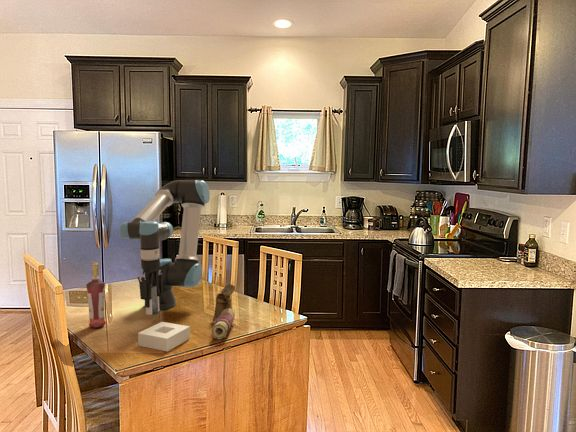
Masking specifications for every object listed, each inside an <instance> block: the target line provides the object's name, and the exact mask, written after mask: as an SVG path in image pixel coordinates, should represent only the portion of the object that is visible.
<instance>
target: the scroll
mask: <svg viewBox="0 0 576 432" xmlns="http://www.w3.org/2000/svg"><path fill="white" fill-rule="evenodd" d="M235 317H236V315H235V311H234V310H233V308H232V309H230V308H229V309H228V308H227V309H224V310H223V311H222V313H221V315H220V316H219V317H218V318H217V319H215V320H214V321H213V323H214V325H213V326H212V328H211V334H212V336H213V338H215V339H217V340H223V338H226V337H227V334H228V333H229V332H230V328H231V326H232V324H233V323H234V321H235Z"/></svg>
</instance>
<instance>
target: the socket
mask: <svg viewBox="0 0 576 432" xmlns="http://www.w3.org/2000/svg"><path fill="white" fill-rule="evenodd" d="M190 339H191V327H190V326H189V325H183V324H177V323H171V322H165V321H160V322H158V323H157V324H153V325H151V326H150V327H147V328H146V329H144V330H142V331H139V332H138V333H137V341H138V343H137V344H138V345H137V346H139V347H143V348H149V349H154V350H159V351H163V352H169V351H171V350H173V349H174V348H177V347H178V346H180V345H181V344H183V343H185V342H186V341H188V340H190Z"/></svg>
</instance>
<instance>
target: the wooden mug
mask: <svg viewBox="0 0 576 432" xmlns="http://www.w3.org/2000/svg"><path fill="white" fill-rule="evenodd" d="M235 289H236V286H235V285H233V284H228V285H226V286H224V287H223V288H222V289H221V292H219V293H217V294H216V297H215V305H214V306H215V308H214V313H213V314H214V315H213V317H212V318H213V320H214V321H215V319H217V318H218V317H219V316H220V315H221V313H222V311H223V310H224V309H227V308H228V309H229V308H230V309H232V310H233V308H232V297H231V295H232V294H233V293H234V292H235Z"/></svg>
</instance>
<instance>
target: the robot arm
mask: <svg viewBox="0 0 576 432" xmlns="http://www.w3.org/2000/svg"><path fill="white" fill-rule="evenodd" d="M210 197H211V195H210V189H209V185H208V184H207V182H206V181H204V180H199V179H194V180H193V179H190V180H189V179H186V180H185V179H184V180H181V179H177V180H176V179H175V180H172V181H170V182H168V183H166V184H165V185H163V186H161V187H160V188H159V189H158V190H157V191H156V192H155V197H153V198H152V200H150V201H149V202H148V203H147V204H146V205H145V207H144V208H143V209H142V210H141V211H140V212H139V213H138V214H137V215H136V216H134V218H133V219H132V220H131V221H125V222H122V223H121V224H120V226H119V234H120V237H121V238H122V239H125V240H139V242H140V243H139V244H140V258H141V260H140V265H141V269H142V275H141V276H138V277H137V280H138V284H139V295H140V296H139V297H140V300H143V301H144V308H145V314H146V315H148V316H153V315H152V299H150V295H151V285H156V286H157V306H158V313H159V312H160V311H162V310H167V309H171V308H174V307H175V306H176V305H177V299H176V297H175V294H174V291H173V287H182V288H183V287H185V288H194V287H196V286H197V285H199V283H200V282H201V280H202V279H201V278H202V276H203V266H202V264H201V263H200V260H199V259H198V257H197V253H198V252H197V251H198V242H199V233H200V232H199V231H200V225H201V224H200V222H201V215H202V214H201V213H202V211H203V209H204V208H205V204H208V203H209V202H210ZM175 203H176V204H178V203H180V204H181V207H182V208H183V214H182V221H181V230H180V231H181V232H180V238H179V239H180V240H179V248H178V255H177V256H176V257H175V259H174V262H172V258H160V242H162V241H165V240H167V239H169V238H170V237H172V236H173V233H174V227H173V225H172V224H171V223H170V222H167V221H160V222H158V221H156V220H157V219H158V218H159V216H160V215H162V213H163V212H164V211H165V209H167V207H170V206H172V205H173V204H175Z"/></svg>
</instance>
